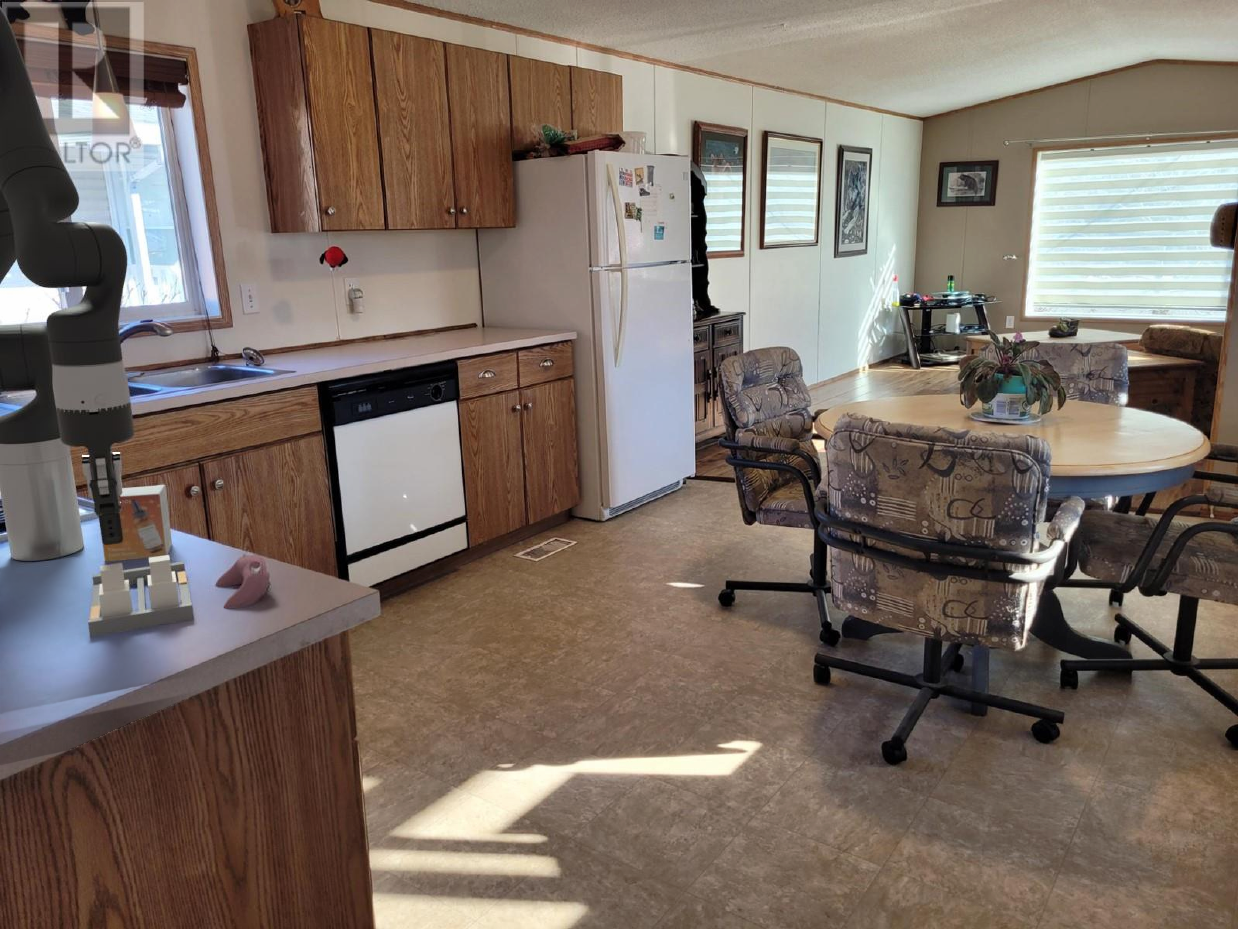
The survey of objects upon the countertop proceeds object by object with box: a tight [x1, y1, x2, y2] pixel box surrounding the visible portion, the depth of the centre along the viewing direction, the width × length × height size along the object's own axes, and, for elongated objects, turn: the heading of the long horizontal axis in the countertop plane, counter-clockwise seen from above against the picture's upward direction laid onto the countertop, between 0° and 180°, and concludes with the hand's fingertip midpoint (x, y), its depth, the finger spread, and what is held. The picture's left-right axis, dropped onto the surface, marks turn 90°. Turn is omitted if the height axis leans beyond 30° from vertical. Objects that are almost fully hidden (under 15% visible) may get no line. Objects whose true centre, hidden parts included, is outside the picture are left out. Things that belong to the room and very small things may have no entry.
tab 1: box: [99, 562, 134, 617], centre depth 105 cm, size 4×3×6 cm
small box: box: [102, 484, 173, 563], centre depth 128 cm, size 8×6×10 cm
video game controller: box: [214, 552, 272, 609], centre depth 114 cm, size 10×5×7 cm, turn 30°
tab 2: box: [147, 554, 180, 609], centre depth 107 cm, size 4×3×6 cm
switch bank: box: [87, 561, 195, 637], centre depth 110 cm, size 20×11×3 cm, turn 28°
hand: (113, 542), depth 108 cm, fingers closed
